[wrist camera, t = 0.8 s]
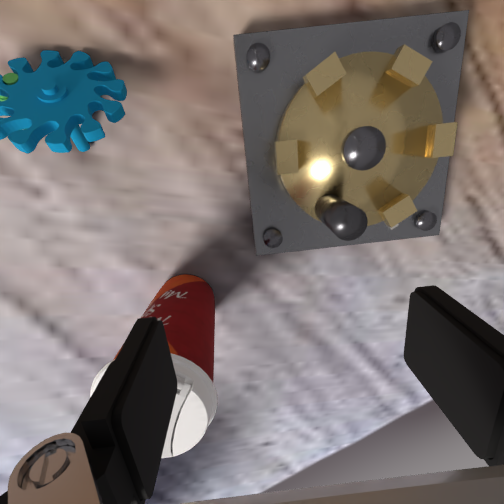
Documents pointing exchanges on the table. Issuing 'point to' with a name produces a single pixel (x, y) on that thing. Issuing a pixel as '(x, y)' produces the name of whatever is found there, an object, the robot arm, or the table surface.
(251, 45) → the base plate
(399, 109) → the brass paddle wheel
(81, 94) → the gear
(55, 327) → the table surface
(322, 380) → the table surface
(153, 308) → the coffee cup
